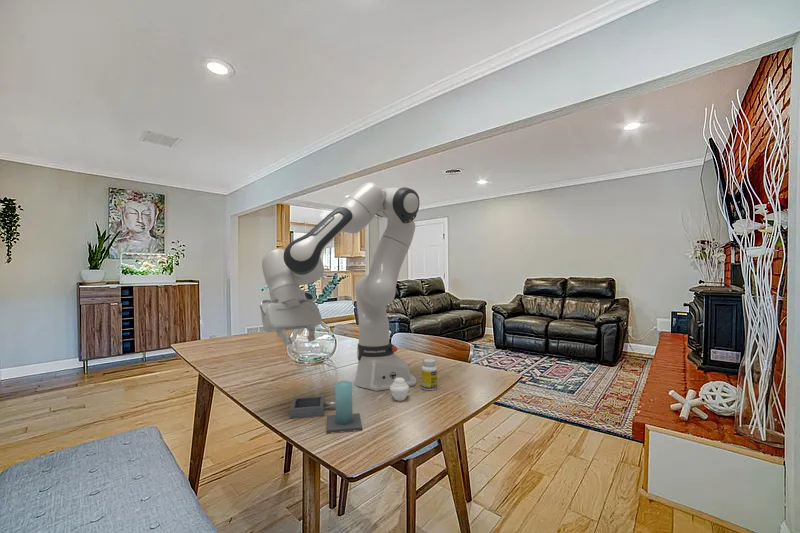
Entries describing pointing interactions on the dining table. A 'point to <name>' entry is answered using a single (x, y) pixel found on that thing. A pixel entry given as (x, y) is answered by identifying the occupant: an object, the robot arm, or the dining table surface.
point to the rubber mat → (335, 427)
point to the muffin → (399, 389)
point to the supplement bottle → (429, 375)
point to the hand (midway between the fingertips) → (300, 342)
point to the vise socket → (309, 411)
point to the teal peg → (343, 402)
